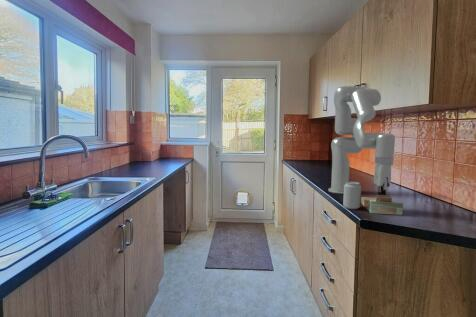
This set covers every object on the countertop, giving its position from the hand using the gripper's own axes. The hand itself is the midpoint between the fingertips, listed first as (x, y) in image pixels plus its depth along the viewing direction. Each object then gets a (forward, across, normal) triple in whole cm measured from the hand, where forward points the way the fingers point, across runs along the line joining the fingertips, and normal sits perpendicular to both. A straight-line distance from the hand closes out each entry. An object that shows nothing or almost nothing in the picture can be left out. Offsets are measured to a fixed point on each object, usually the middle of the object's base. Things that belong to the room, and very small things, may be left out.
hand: (381, 200), depth 141 cm
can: (+4, 0, -13) cm, 14 cm away
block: (+1, +5, 0) cm, 5 cm away
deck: (+4, -1, 0) cm, 4 cm away
